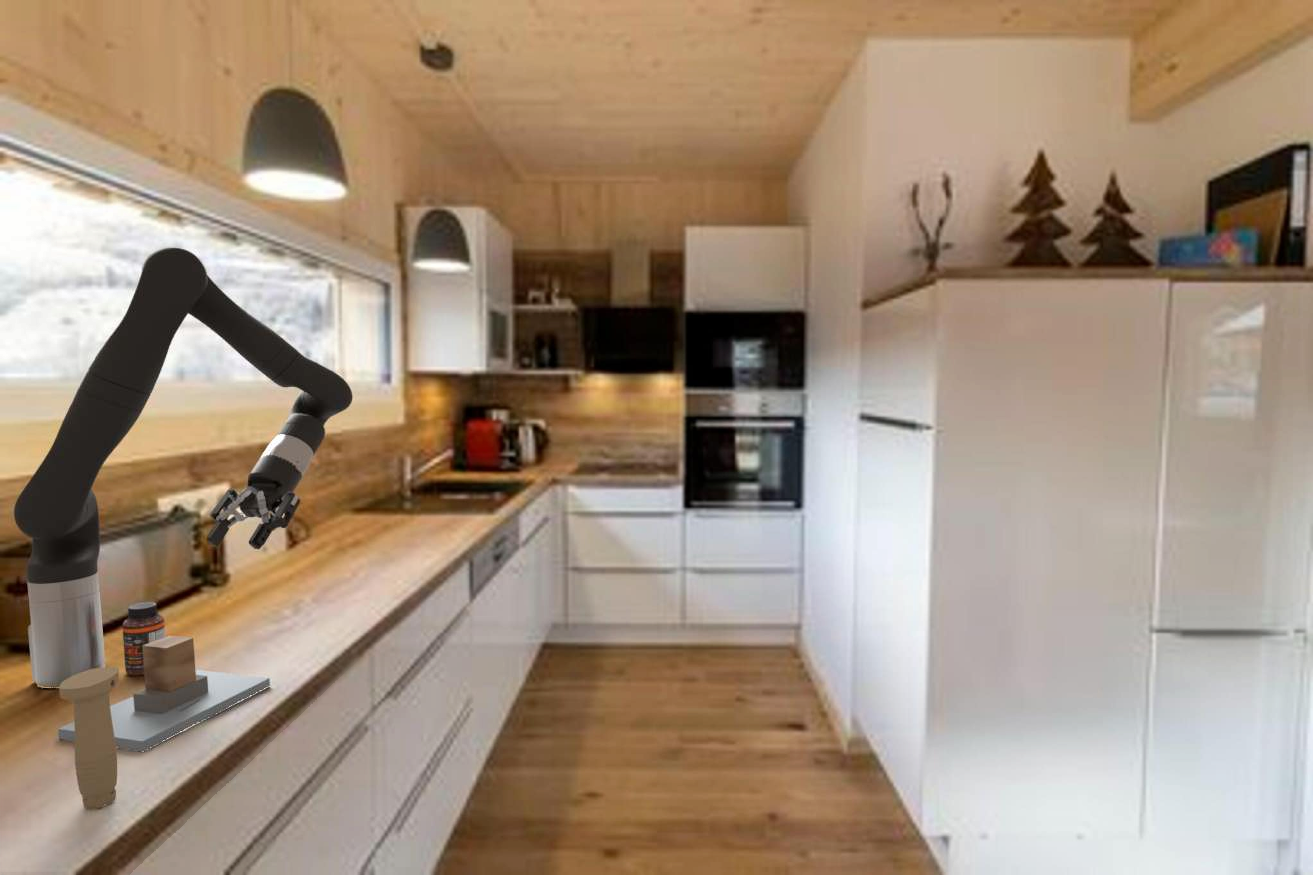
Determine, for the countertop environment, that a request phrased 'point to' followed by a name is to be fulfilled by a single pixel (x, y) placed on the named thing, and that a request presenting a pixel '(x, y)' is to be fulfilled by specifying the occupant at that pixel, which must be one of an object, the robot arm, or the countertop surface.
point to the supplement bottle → (140, 634)
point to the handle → (93, 734)
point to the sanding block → (169, 675)
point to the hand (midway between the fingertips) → (232, 545)
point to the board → (175, 712)
